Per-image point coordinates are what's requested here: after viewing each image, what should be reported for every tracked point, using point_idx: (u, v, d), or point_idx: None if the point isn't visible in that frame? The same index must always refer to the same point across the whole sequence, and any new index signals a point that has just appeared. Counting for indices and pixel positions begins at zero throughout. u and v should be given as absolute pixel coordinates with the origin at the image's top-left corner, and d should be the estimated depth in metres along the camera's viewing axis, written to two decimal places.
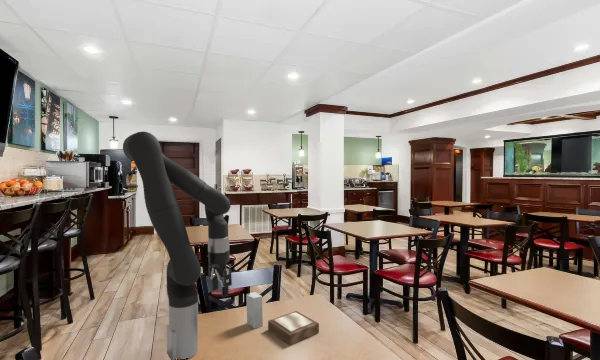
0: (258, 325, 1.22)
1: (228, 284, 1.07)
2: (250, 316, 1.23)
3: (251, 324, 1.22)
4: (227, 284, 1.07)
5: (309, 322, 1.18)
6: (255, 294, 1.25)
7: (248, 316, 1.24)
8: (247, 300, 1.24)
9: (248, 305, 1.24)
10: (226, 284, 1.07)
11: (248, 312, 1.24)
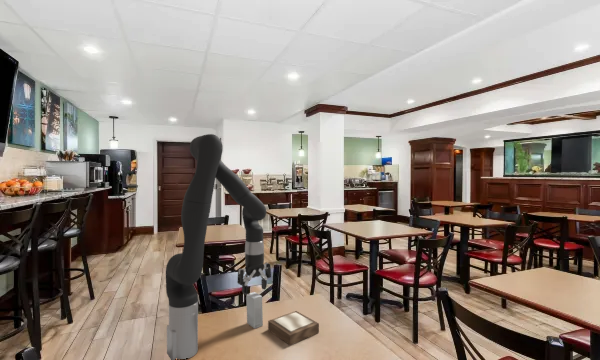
0: (258, 325, 1.22)
1: None
2: (250, 316, 1.23)
3: (251, 324, 1.22)
4: None
5: (309, 322, 1.18)
6: (255, 294, 1.25)
7: (248, 316, 1.24)
8: (247, 300, 1.24)
9: (248, 305, 1.24)
10: None
11: (248, 312, 1.24)
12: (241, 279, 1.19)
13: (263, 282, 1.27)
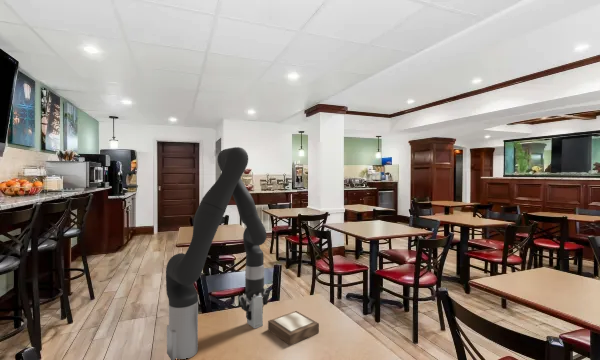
0: (258, 325, 1.22)
1: None
2: None
3: (251, 324, 1.22)
4: None
5: (309, 322, 1.18)
6: None
7: None
8: None
9: None
10: None
11: None
12: (244, 306, 1.20)
13: None
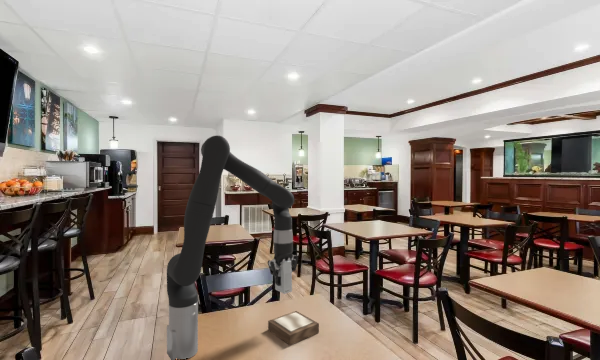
0: (288, 290, 1.19)
1: None
2: None
3: (280, 290, 1.19)
4: None
5: (309, 322, 1.18)
6: None
7: None
8: None
9: None
10: None
11: None
12: (274, 270, 1.17)
13: None
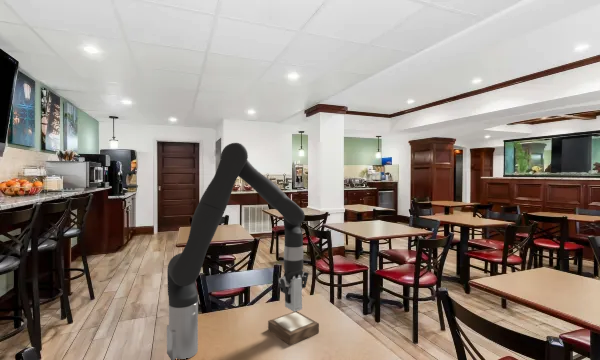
0: (298, 308, 1.17)
1: None
2: None
3: (290, 307, 1.17)
4: None
5: (309, 322, 1.18)
6: None
7: None
8: None
9: None
10: None
11: None
12: (284, 288, 1.15)
13: None
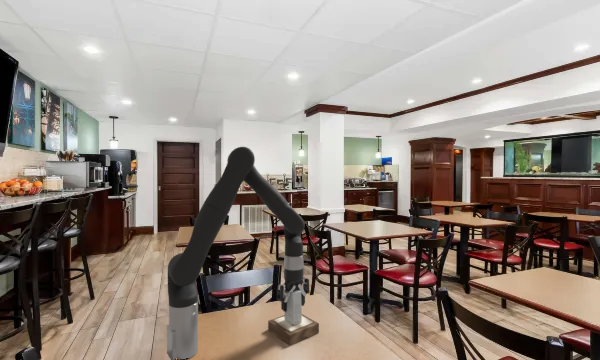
0: (297, 322, 1.17)
1: None
2: (289, 312, 1.17)
3: (290, 321, 1.17)
4: None
5: (309, 322, 1.18)
6: None
7: (286, 312, 1.19)
8: (285, 296, 1.19)
9: None
10: None
11: None
12: (281, 295, 1.14)
13: (301, 298, 1.21)
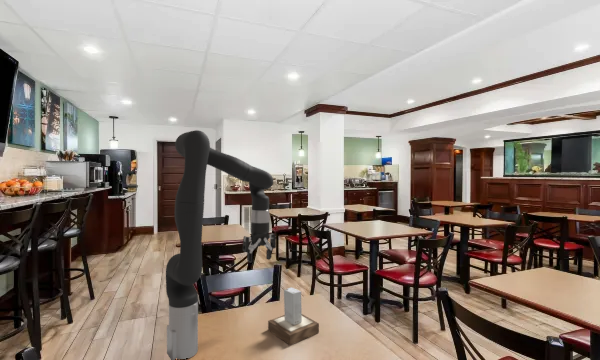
0: (297, 322, 1.17)
1: None
2: (289, 312, 1.17)
3: (290, 321, 1.17)
4: None
5: (309, 322, 1.18)
6: (293, 289, 1.19)
7: (286, 312, 1.19)
8: (285, 296, 1.19)
9: (286, 301, 1.19)
10: None
11: (286, 308, 1.19)
12: (246, 246, 1.21)
13: (268, 252, 1.28)
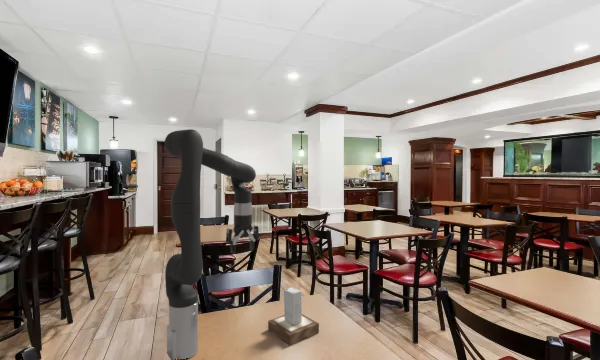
0: (297, 322, 1.17)
1: None
2: (289, 312, 1.17)
3: (290, 321, 1.17)
4: None
5: (309, 322, 1.18)
6: (293, 289, 1.19)
7: (286, 312, 1.19)
8: (285, 296, 1.19)
9: (286, 301, 1.19)
10: None
11: (286, 308, 1.19)
12: (229, 238, 1.24)
13: (251, 243, 1.32)
